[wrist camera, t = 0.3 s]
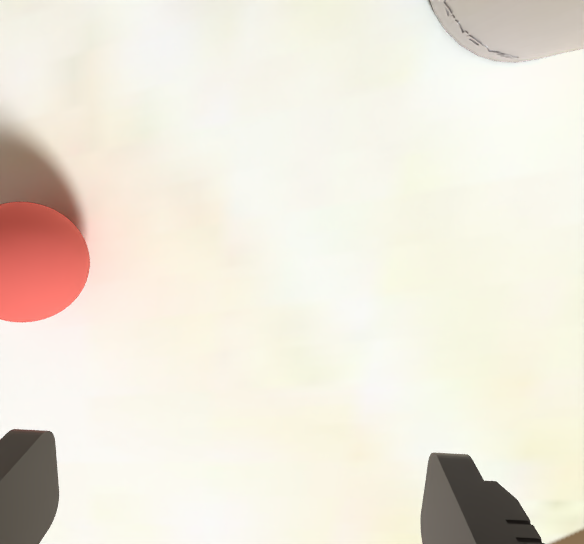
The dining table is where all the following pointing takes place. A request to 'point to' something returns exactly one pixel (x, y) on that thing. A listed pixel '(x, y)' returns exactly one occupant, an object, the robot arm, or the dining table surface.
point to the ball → (39, 262)
